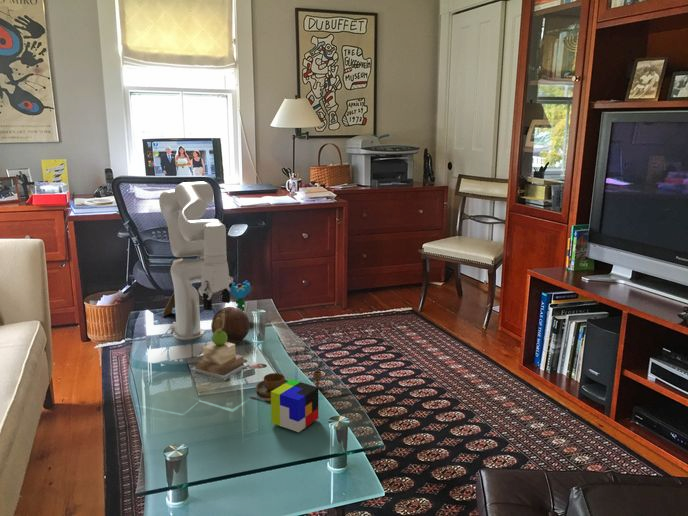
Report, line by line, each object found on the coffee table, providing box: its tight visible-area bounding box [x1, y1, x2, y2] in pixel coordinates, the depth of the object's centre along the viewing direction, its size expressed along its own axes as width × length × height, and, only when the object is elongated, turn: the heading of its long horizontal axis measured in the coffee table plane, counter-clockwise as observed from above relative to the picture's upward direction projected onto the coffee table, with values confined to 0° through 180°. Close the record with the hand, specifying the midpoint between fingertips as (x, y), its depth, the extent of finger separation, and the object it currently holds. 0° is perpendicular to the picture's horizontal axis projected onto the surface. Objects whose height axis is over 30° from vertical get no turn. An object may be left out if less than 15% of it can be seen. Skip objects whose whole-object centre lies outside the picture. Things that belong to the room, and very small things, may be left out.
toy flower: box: [230, 280, 251, 312], centre depth 259 cm, size 9×9×18 cm
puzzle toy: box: [270, 379, 319, 433], centre depth 172 cm, size 10×10×10 cm
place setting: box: [250, 370, 322, 402], centre depth 192 cm, size 18×20×6 cm
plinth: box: [195, 342, 245, 376], centre depth 208 cm, size 12×12×8 cm
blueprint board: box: [189, 362, 251, 380], centre depth 209 cm, size 16×14×1 cm
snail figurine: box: [211, 310, 227, 346], centre depth 207 cm, size 5×6×12 cm
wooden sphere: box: [210, 306, 250, 345], centre depth 233 cm, size 15×15×15 cm
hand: (217, 305), depth 205 cm, fingers open, 9 cm apart
